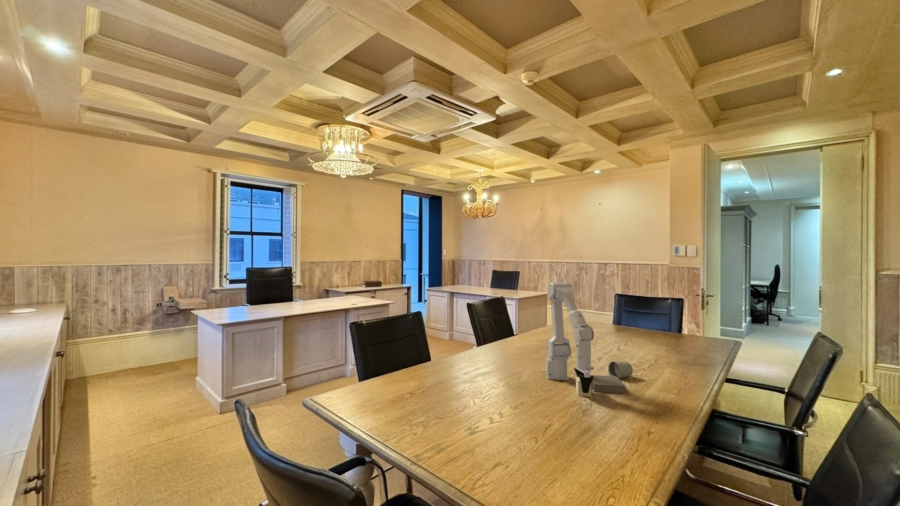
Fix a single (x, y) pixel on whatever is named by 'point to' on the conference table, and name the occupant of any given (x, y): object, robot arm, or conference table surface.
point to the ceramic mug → (620, 369)
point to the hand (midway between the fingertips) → (583, 389)
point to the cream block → (579, 388)
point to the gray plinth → (607, 384)
